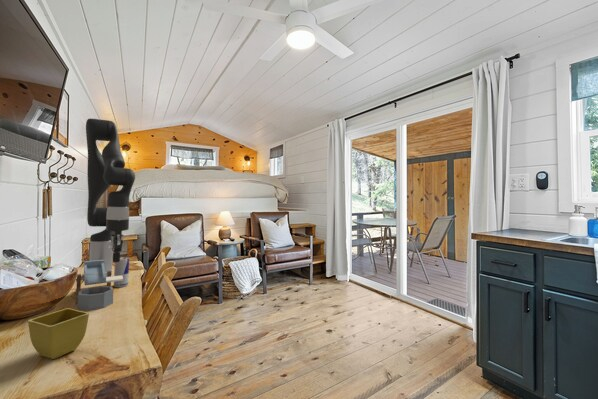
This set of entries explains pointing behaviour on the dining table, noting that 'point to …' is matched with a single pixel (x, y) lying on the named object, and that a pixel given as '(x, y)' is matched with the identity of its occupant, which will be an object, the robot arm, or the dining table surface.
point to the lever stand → (88, 287)
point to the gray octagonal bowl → (95, 297)
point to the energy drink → (122, 271)
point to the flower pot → (58, 332)
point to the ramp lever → (97, 273)
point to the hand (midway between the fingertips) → (116, 261)
